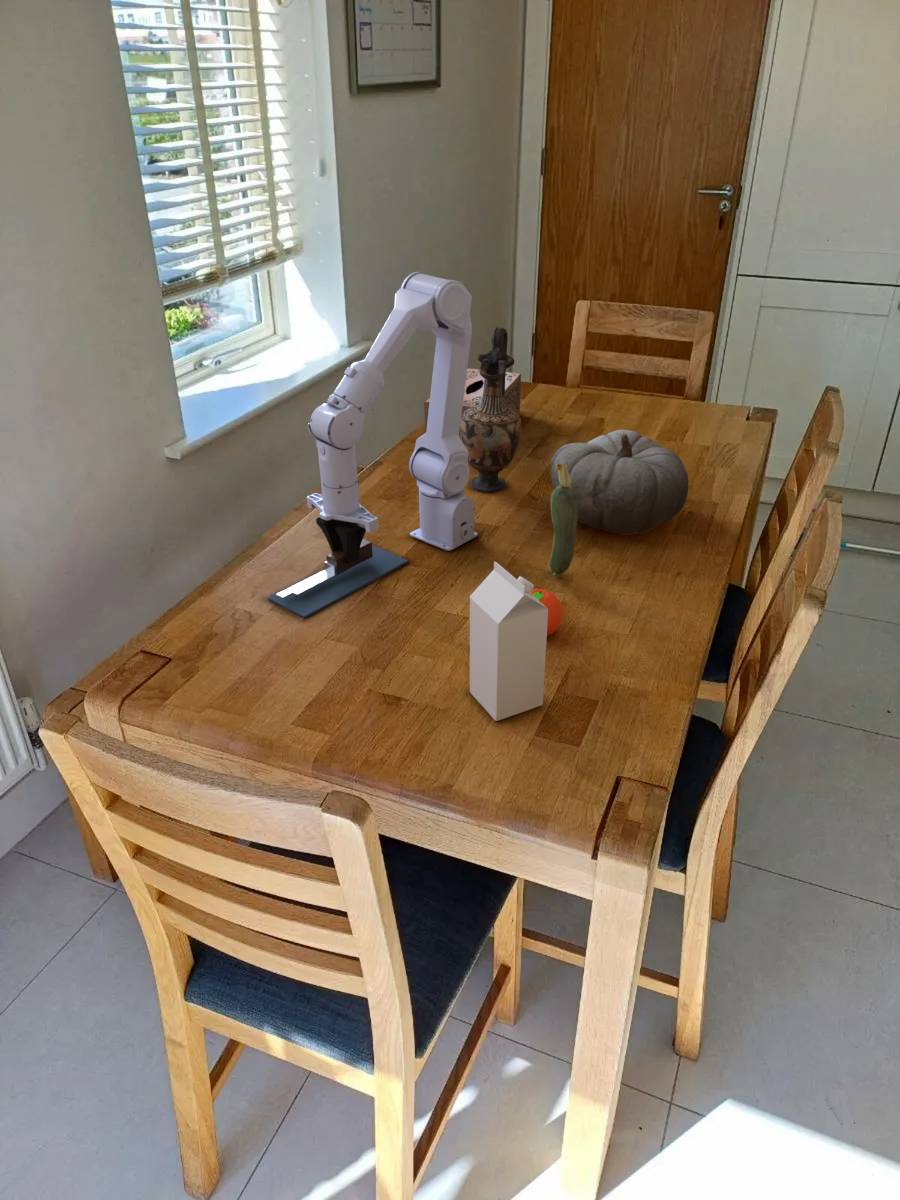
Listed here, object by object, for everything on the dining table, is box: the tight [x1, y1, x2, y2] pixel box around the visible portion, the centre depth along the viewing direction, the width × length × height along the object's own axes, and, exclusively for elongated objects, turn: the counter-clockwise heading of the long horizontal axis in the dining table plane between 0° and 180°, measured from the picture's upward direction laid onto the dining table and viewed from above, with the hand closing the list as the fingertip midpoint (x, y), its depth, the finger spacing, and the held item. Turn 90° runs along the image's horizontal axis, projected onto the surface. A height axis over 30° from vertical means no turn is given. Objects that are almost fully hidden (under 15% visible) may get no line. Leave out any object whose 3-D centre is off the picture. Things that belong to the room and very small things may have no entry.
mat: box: [267, 544, 409, 619], centre depth 143 cm, size 9×23×1 cm, turn 139°
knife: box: [276, 538, 373, 599], centre depth 141 cm, size 19×3×3 cm, turn 139°
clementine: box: [530, 588, 564, 637], centre depth 127 cm, size 8×7×7 cm
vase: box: [460, 326, 522, 493], centre depth 167 cm, size 12×12×30 cm
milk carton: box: [469, 561, 548, 722], centre depth 111 cm, size 7×7×19 cm
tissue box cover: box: [423, 367, 522, 439], centre depth 199 cm, size 26×14×10 cm, turn 161°
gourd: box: [549, 429, 689, 536], centre depth 157 cm, size 25×25×17 cm
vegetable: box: [549, 463, 578, 578], centre depth 137 cm, size 4×4×20 cm
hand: (345, 558), depth 144 cm, fingers closed on knife, 2 cm apart
